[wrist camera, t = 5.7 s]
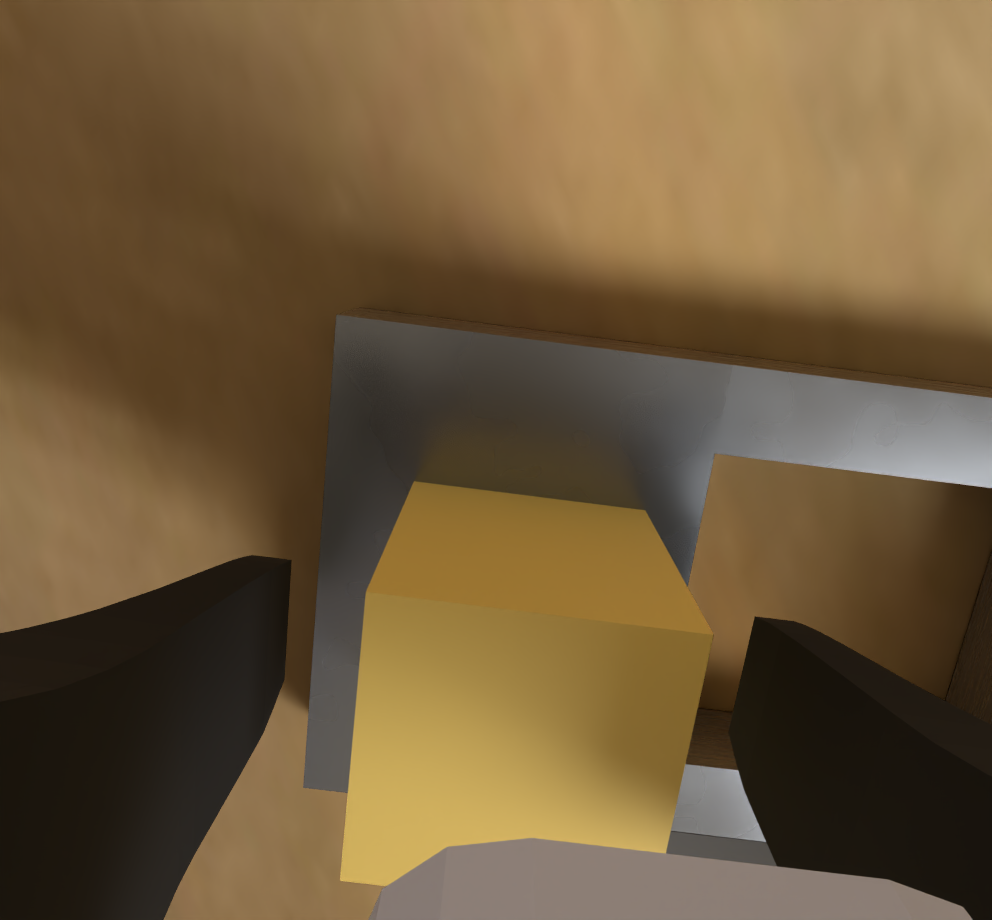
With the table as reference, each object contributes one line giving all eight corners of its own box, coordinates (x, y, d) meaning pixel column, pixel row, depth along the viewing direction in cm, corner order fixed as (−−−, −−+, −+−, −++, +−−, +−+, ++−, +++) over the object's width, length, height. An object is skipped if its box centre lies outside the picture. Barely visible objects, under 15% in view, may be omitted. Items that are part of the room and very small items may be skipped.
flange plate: (327, 725, 16) (301, 791, 14) (359, 307, 14) (334, 315, 12) (960, 801, 17) (1022, 875, 15) (1092, 401, 14) (1187, 423, 12)
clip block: (392, 687, 14) (339, 880, 10) (413, 481, 13) (365, 592, 9) (607, 713, 14) (651, 917, 10) (645, 510, 13) (713, 634, 9)
